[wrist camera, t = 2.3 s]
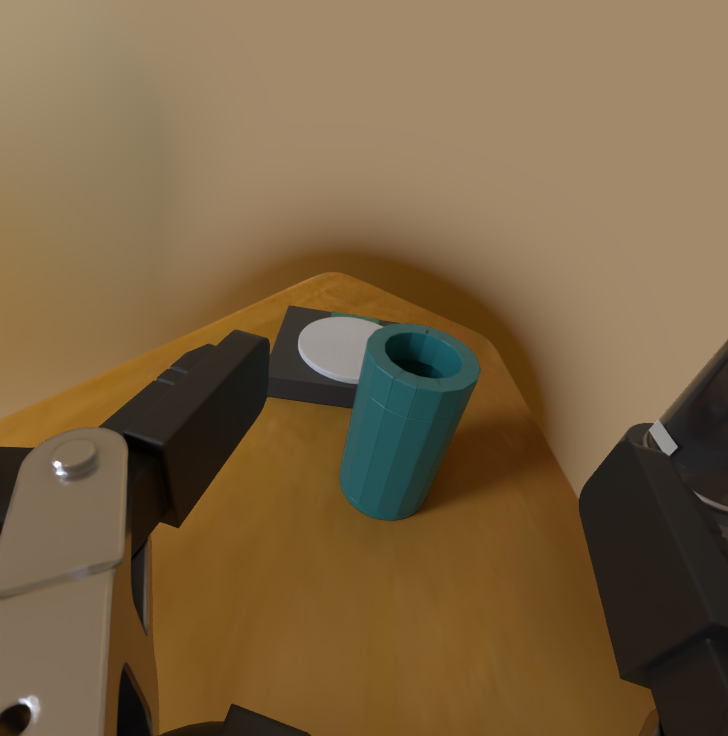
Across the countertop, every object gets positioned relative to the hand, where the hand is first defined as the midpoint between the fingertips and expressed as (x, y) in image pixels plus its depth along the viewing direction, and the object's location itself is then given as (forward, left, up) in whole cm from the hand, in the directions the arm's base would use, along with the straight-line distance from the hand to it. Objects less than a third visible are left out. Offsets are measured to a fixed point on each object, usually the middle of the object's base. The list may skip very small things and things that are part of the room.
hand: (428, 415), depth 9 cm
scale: (+1, -24, -16) cm, 29 cm away
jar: (-2, -11, -16) cm, 20 cm away
